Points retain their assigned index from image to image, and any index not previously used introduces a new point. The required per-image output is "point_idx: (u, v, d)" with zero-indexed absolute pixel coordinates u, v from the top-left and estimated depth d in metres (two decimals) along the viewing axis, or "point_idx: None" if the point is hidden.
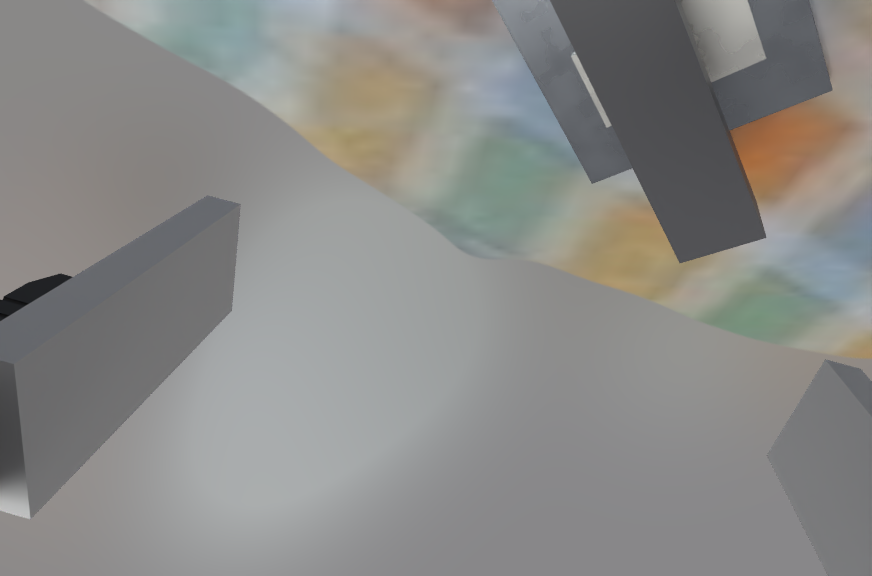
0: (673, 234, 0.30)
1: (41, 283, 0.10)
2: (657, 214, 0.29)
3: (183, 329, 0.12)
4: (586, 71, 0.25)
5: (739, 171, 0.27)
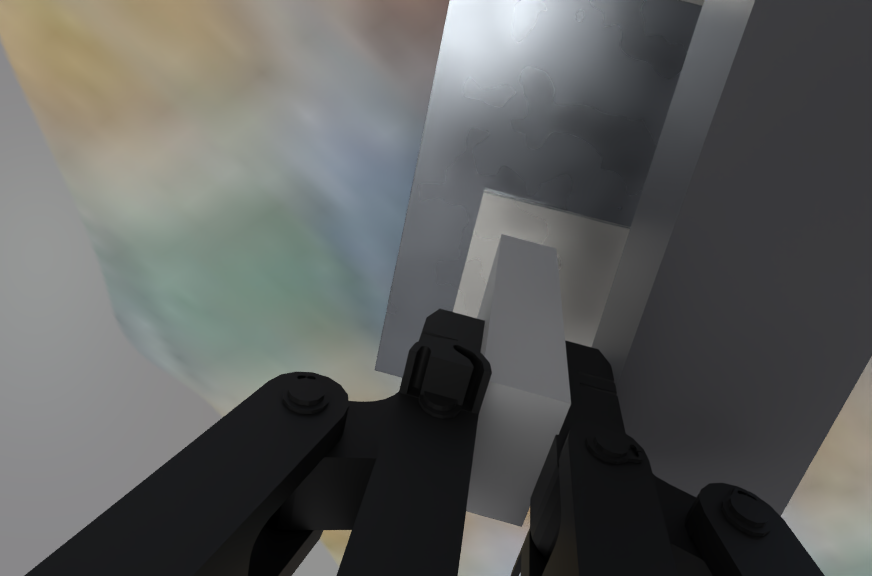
0: None
1: (436, 317, 0.12)
2: None
3: None
4: (665, 261, 0.11)
5: None
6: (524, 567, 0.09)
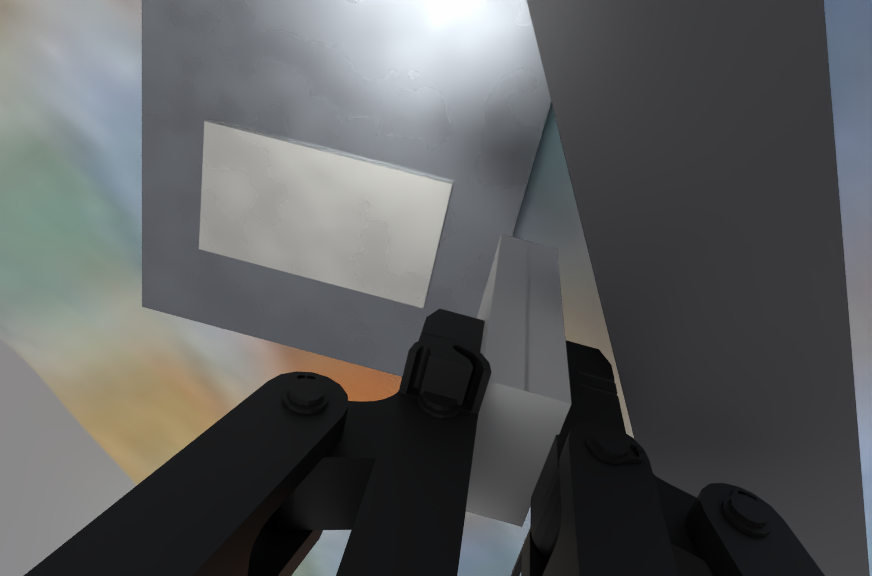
0: None
1: (436, 317, 0.12)
2: None
3: None
4: (567, 151, 0.10)
5: (856, 454, 0.12)
6: (524, 567, 0.09)
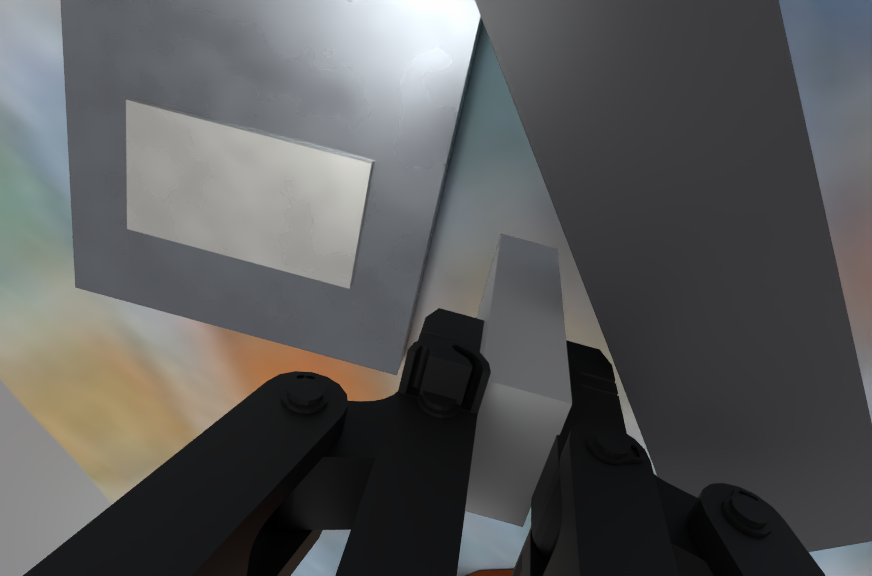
0: None
1: (434, 317, 0.12)
2: (655, 459, 0.13)
3: None
4: (511, 85, 0.10)
5: (858, 378, 0.11)
6: (525, 567, 0.09)
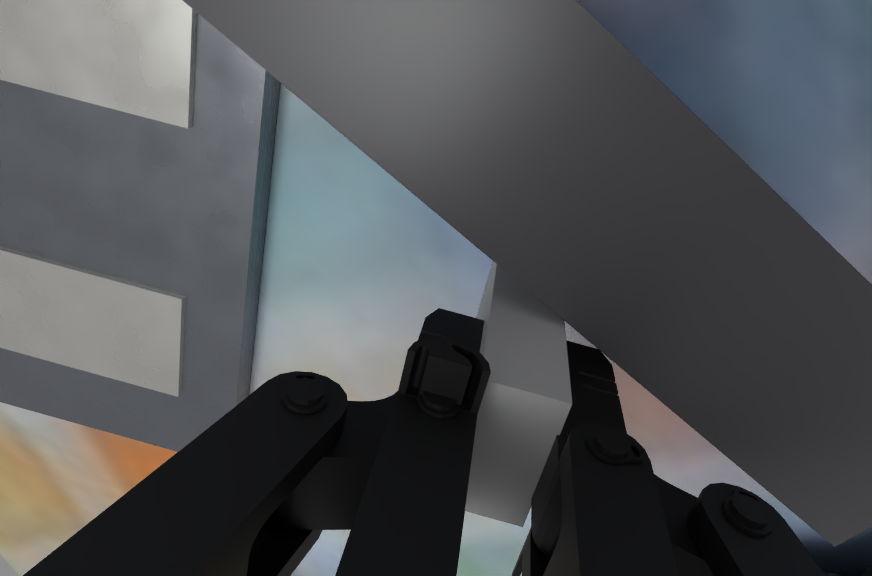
0: (789, 488, 0.12)
1: (435, 317, 0.12)
2: (729, 454, 0.12)
3: None
4: (419, 195, 0.11)
5: None
6: (525, 568, 0.09)
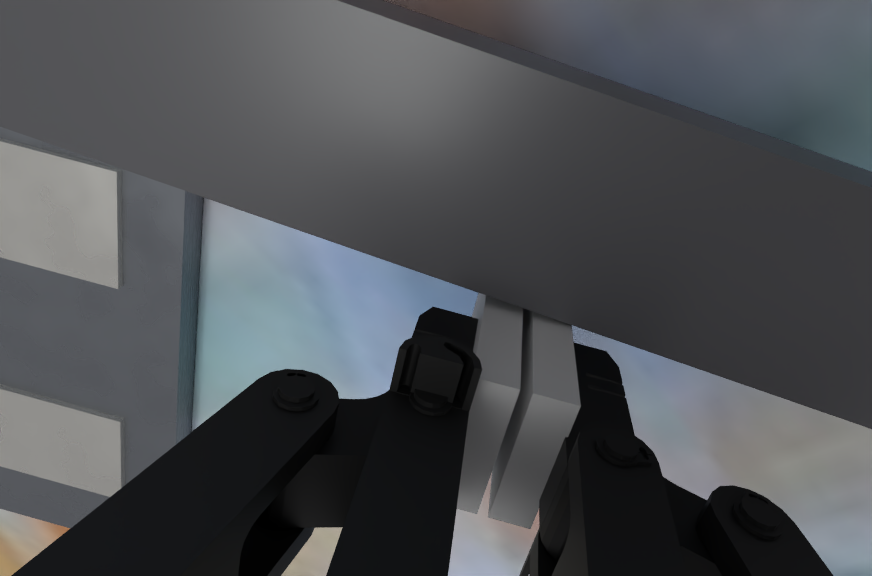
0: None
1: (429, 316, 0.12)
2: (802, 401, 0.12)
3: None
4: (399, 262, 0.11)
5: None
6: (532, 569, 0.09)
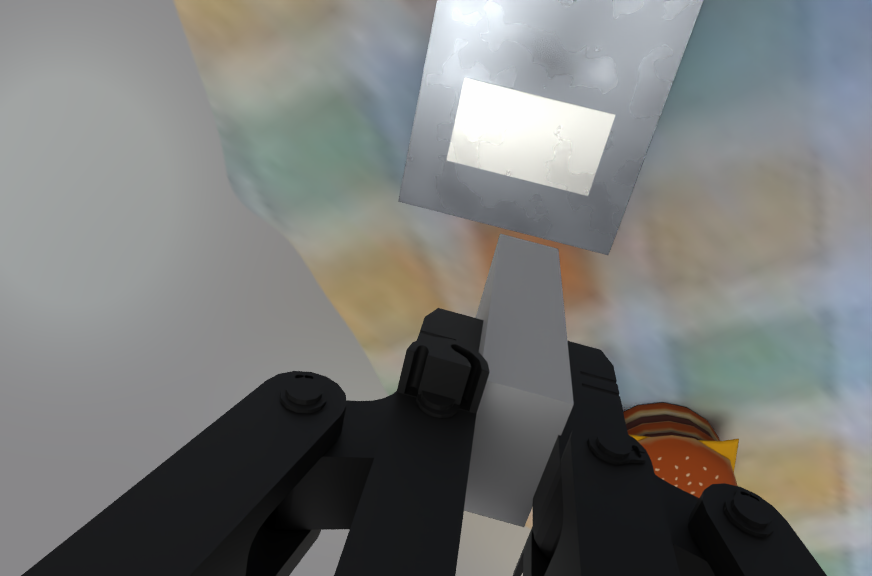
0: None
1: (434, 317, 0.12)
2: None
3: None
4: None
5: None
6: (526, 568, 0.09)
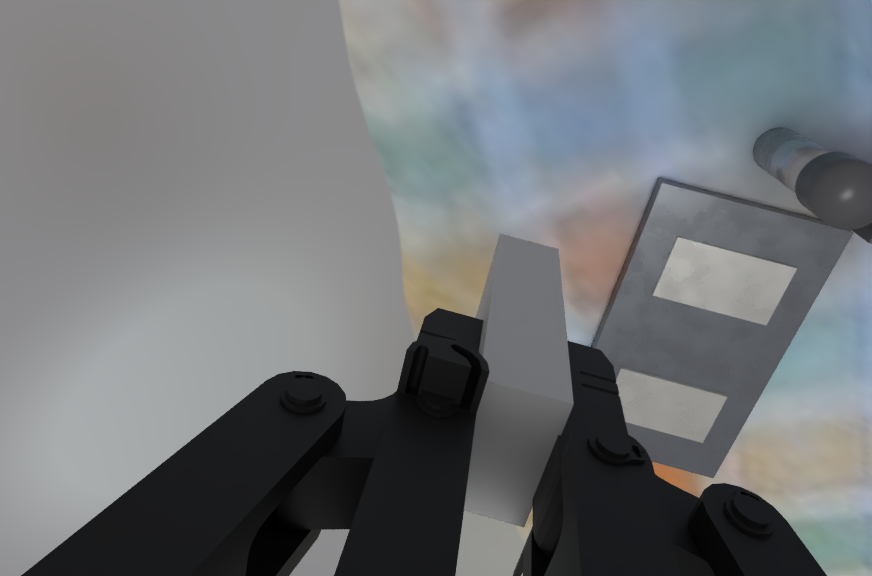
0: None
1: (433, 317, 0.12)
2: None
3: None
4: None
5: None
6: (526, 568, 0.09)
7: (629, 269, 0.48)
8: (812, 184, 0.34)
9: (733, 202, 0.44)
